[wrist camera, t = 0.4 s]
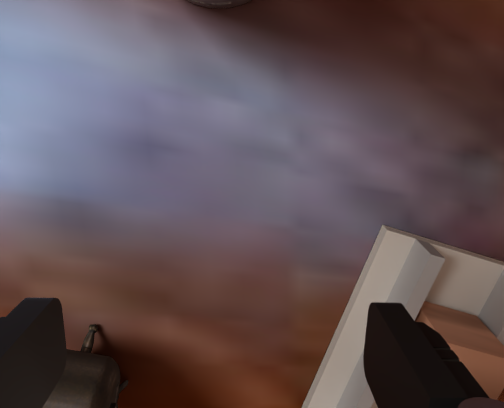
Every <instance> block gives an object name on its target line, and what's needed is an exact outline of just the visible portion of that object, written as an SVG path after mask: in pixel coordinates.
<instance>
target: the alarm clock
mask: <svg viewBox="0 0 504 408" xmlns="http://www.w3.org/2000/svg"><path fill="white" fill-rule="evenodd" d="M97 330H98V326H97V325H92V324H91V325H90V326H89V332H88V334H87V336H86V337H85V339H84V342H83V345H82V348H81V351H74V350H68V349H66V350H67V357H66V365H65V369H64V372H63V374H62V377H61V378H60V380H59V382H58V383H57V385H56V386H55V388H54V390H53V391H52V393H51V394H50V396H49V398H48V399H47V401H46V403H45V404H44V406H43V407H42V408H118V404H117V400H118V398H119V395H118V394H119V393H120V392H121V391H122V390H123V389H124V388H125V387H126V386H127V385H128V380H126V381H124V382H123V383H122V384H120V370H119V366H118V364H117V363H116V361H115V360H114V359H112V358H111V357H110V356H103V355H98V354H92V353H91V350H92V347H93V343H94V333H96V332H97Z"/></svg>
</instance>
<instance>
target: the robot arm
mask: <svg viewBox="0 0 504 408" xmlns="http://www.w3.org/2000/svg"><path fill="white" fill-rule="evenodd" d="M187 1H189V2H191V3H193V4H195V5H200V6H204V7H208V8H230V7H234V6H238V5H243V4H245V3H247V2H249V1H251V0H187ZM66 357H67V350H66V341H65V332H64V323H63V314H62V306H61V303H60V301H59V299H58V298H25V299H24V300H23V301H22V302H21V303H20V304H19V305H18V306H16V307H15V308H14V309H13V310H12V311H11V312H10V313H9V314H8V315H7V316H6V317H1V318H0V408H42V407H43V406H44V404H45V403H46V401H47V399H48V398H49V396H50V394H51V393H52V391H53V390H54V388H55V386H56V385H57V383H58V382H59V380H60V378H61V377H62V374H63V372H64V369H65V365H66ZM363 364H364V372H365V377H366V380H367V383H368V385H369V388H370V390H371V392H372V395H373V397H374V400H375V402H376V405H377V407H378V408H504V402H501V401H498V400H495V399H491V398H489V396H488V395H487V394H486V392H485V391H484V390H483V389H482V387H481V386H480V385H479V383H478V382H477V381H476V380H475V378H474V377H473V376H472V374H471V373H470V372H469V370H468V369H467V368H466V367H465V365H464V364H463V363H462V362H460V361H459V358H458V356H457V355H456V354H455V352H454V351H453V350H451V349H450V346H449V345H448V343H447V342H446V341H445V340H444V338H443V337H442V336H441V334H440V333H438V332H437V331H435V330H434V329H432V328H431V327H429V326H428V325H426V324H425V323H423V322H415V321H414V320H413V318H412V317H411V316H410V314H409V313H408V311H407V310H406V309H405V307H404V306H403V304H402V303H388V302H372V303H371V304H370V305H369V309H368V316H367V326H366V335H365V344H364V354H363Z"/></svg>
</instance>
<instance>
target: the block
mask: <svg viewBox="0 0 504 408" xmlns="http://www.w3.org/2000/svg"><path fill="white" fill-rule="evenodd" d="M415 322H423V323H425V324H426V325H428V326H429V327H431V328H432V329H434V330H435V331H437V332H438V333H440V334H441V336H442V337H443V338H444V340H445V341H446V342H447V343H448V345H449V346H450V349H451V350H453V351H454V352H455V354H456V355H457V356H458V358H459V361H460V362H462V363H463V364H464V365H465V367H466V368H467V369H468V370H469V372H470V373H471V374H472V376H473V377H474V378H475V380H476V381H477V382H478V383H479V385H480V386H481V387H482V389H483V390H484V391H485V392H486V394H487V395H488V396H489V398H491V399H495V400H497V399H498V397H499V395H500V394H501V392H502V391H503V389H504V345H503V344H502V343H501V342H500V341H499V340H498V339H497V338H496V337H495V335H494V334H493V333H492V332H491V331H490V330H489V329H488V328H487V327H486V326H485V325H484V323H483V322H482V321H481V320H480V319H479V318H478V317H477V316H475V315H472V314H468V313H465V312H461V311H458V310H454V309H451V308H447V307H444V306H440V305H437V304H433V303H430V302H427V301H424V303H423V305H422V307H421V309H420V311H419V313H418V315H417V317H416V319H415Z"/></svg>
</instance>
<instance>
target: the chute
mask: <svg viewBox="0 0 504 408" xmlns="http://www.w3.org/2000/svg"><path fill="white" fill-rule="evenodd" d="M424 301H427V302H430V303H433V304H437V305H440V306H444V307H447V308H451V309H454V310H458V311H461V312H465V313H468V314H472V315H475V316H477V317H478V318H479V319H480V320H481V321H482V322H483V323H484V325H485V326H486V327H487V328H488V329H489V330H490V331H491V332H492V333H493V334H494V335H495V337H496V338H497V339H498V340H499V341H500V342H501V343H502V344H503V345H504V262H503V261H499V260H496V259H493V258H490V257H486V256H483V255H480V254H477V253H473V252H470V251H467V250H464V249H460V248H457V247H454V246H451V245H447V244H444V243H441V242H437V241H434V240H431V239H428V238H424V237H421V236H418V235H415V234H411V233H408V232H405V231H402V230H398V229H395V228H392V227H388V226H385V225H382V227H381V230H380V232H379V234H378V236H377V239H376V241H375V243H374V245H373V248H372V250H371V252H370V254H369V257H368V259H367V261H366V263H365V266H364V268H363V270H362V272H361V275H360V277H359V279H358V281H357V284H356V286H355V288H354V291H353V293H352V295H351V297H350V300H349V302H348V304H347V306H346V309H345V311H344V313H343V315H342V318H341V320H340V322H339V324H338V327H337V329H336V331H335V333H334V336H333V338H332V340H331V342H330V345H329V347H328V349H327V352H326V354H325V356H324V358H323V361H322V363H321V365H320V367H319V370H318V372H317V374H316V376H315V379H314V381H313V383H312V385H311V388H310V390H309V392H308V394H307V397H306V399H305V401H304V403H303V406H302V408H378V407H377V405H376V402H375V400H374V397H373V395H372V392H371V390H370V388H369V385H368V383H367V380H366V377H365V372H364V364H363V354H364V344H365V335H366V326H367V316H368V309H369V305H370V304H371V303H372V302H388V303H402V304H403V306H404V307H405V309H406V310H407V311H408V313H409V314H410V316H411V317H412V318H413V320H414V321H415V319H416V317H417V315H418V313H419V311H420V309H421V307H422V305H423V303H424Z"/></svg>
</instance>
